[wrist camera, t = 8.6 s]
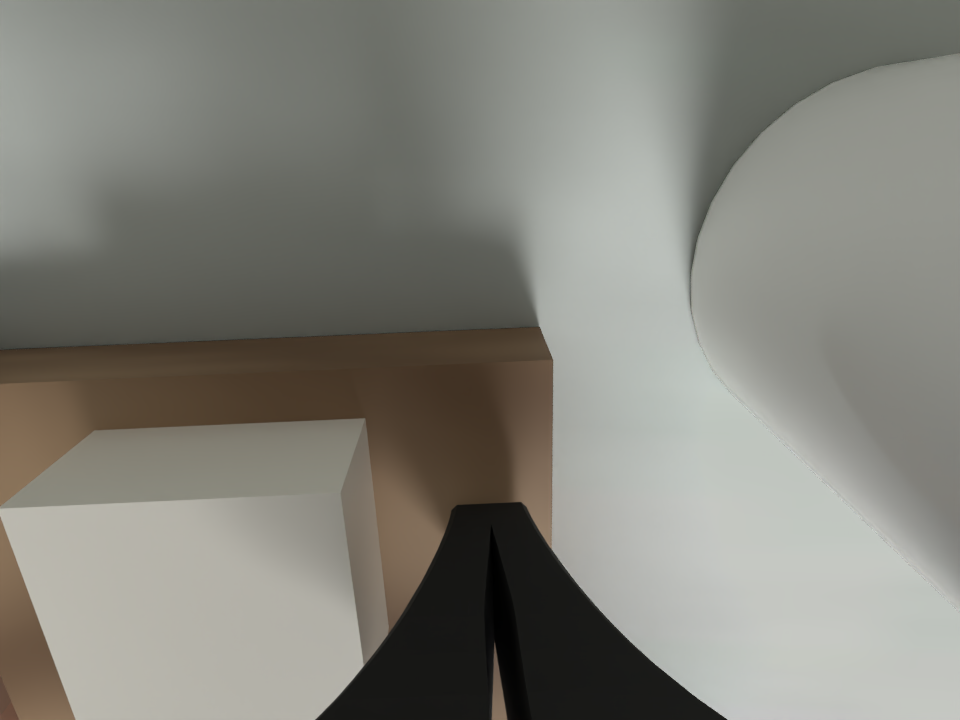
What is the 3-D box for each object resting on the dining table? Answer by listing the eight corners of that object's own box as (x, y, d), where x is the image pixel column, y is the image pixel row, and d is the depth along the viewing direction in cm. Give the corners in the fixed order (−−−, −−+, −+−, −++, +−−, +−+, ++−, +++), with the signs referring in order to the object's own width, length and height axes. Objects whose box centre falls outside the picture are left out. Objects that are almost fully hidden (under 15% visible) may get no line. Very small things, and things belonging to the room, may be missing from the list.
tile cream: (388, 627, 13) (372, 736, 11) (154, 639, 13) (87, 751, 11) (365, 417, 11) (340, 492, 9) (94, 430, 11) (-3, 509, 9)
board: (539, 782, 18) (548, 858, 16) (127, 804, 18) (87, 885, 16) (539, 327, 13) (552, 359, 11) (-33, 351, 13) (-120, 388, 11)
